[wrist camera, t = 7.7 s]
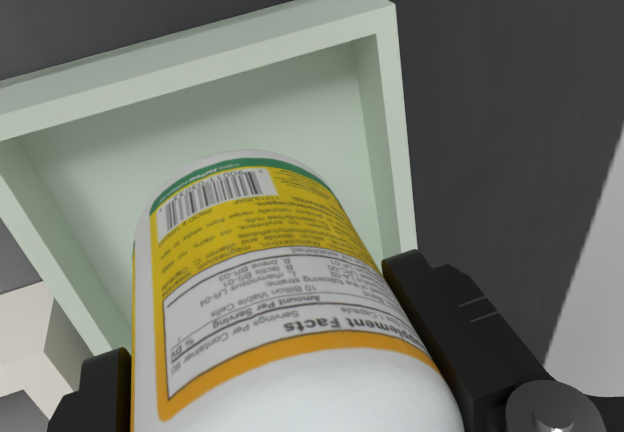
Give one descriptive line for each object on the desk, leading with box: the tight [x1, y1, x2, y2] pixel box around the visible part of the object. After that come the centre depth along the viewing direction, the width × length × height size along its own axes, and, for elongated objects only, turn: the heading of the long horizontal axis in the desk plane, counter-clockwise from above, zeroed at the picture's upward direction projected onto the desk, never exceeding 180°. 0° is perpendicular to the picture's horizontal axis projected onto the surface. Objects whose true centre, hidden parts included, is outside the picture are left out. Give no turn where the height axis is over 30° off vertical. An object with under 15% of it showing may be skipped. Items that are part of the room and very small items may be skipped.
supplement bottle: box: [130, 149, 464, 432], centre depth 10 cm, size 5×5×10 cm
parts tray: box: [0, 0, 418, 357], centre depth 15 cm, size 10×10×2 cm
